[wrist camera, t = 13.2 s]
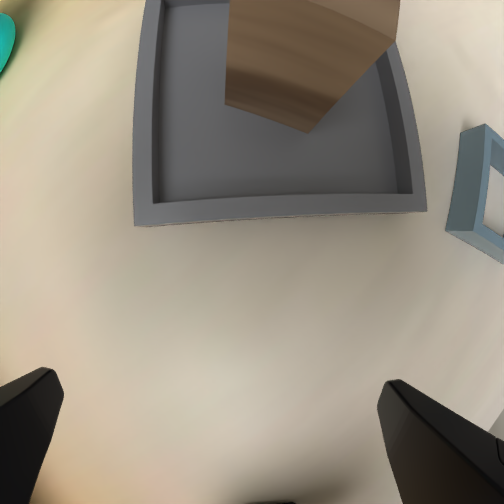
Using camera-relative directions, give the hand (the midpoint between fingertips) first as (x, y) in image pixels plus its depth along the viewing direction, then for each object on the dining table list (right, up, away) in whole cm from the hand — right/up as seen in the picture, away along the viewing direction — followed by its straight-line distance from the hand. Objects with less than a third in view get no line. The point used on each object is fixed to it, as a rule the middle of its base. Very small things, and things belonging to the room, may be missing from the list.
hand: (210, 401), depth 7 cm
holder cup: (+20, +8, +12) cm, 24 cm away
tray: (+3, +14, +10) cm, 17 cm away
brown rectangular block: (+3, +14, +9) cm, 17 cm away
